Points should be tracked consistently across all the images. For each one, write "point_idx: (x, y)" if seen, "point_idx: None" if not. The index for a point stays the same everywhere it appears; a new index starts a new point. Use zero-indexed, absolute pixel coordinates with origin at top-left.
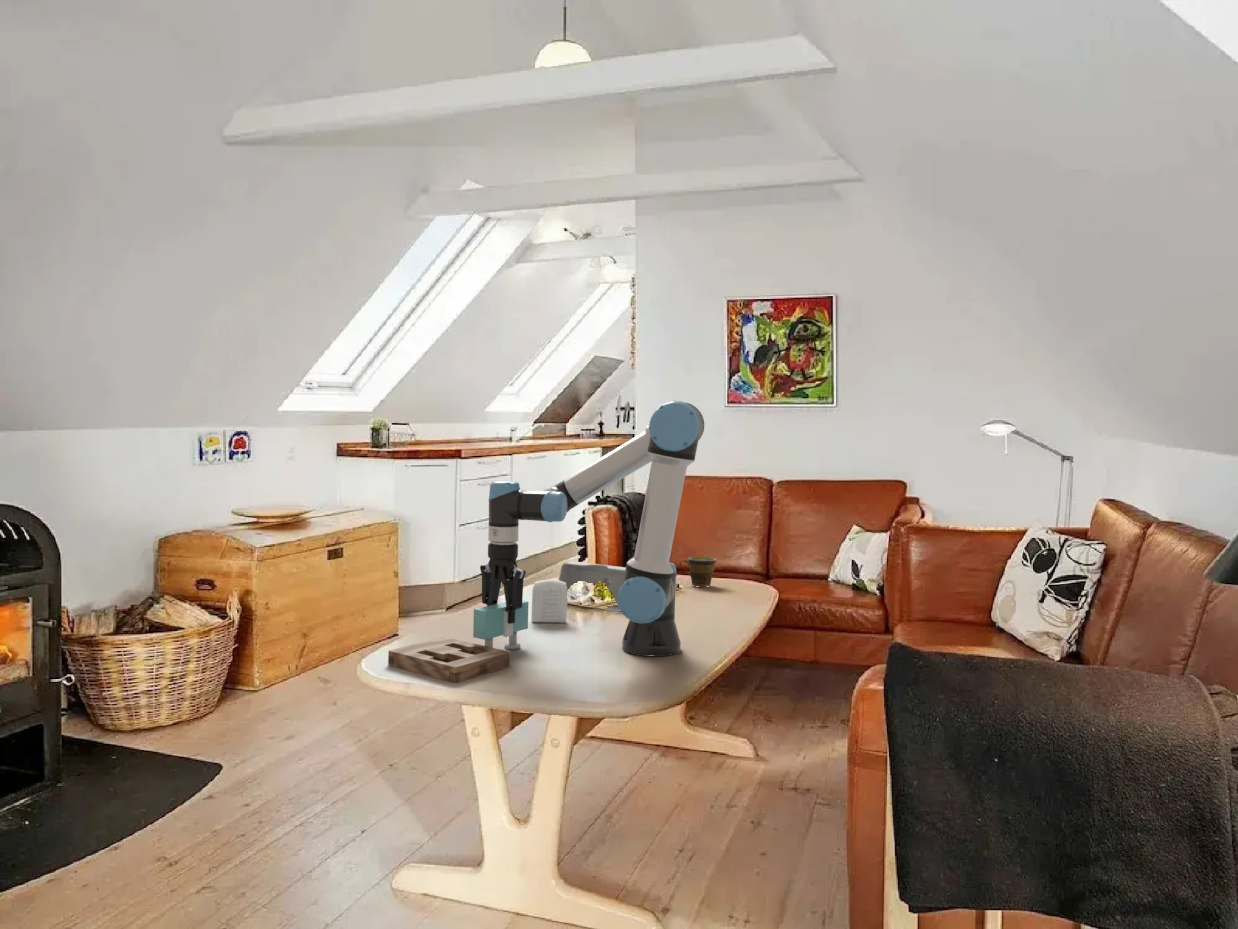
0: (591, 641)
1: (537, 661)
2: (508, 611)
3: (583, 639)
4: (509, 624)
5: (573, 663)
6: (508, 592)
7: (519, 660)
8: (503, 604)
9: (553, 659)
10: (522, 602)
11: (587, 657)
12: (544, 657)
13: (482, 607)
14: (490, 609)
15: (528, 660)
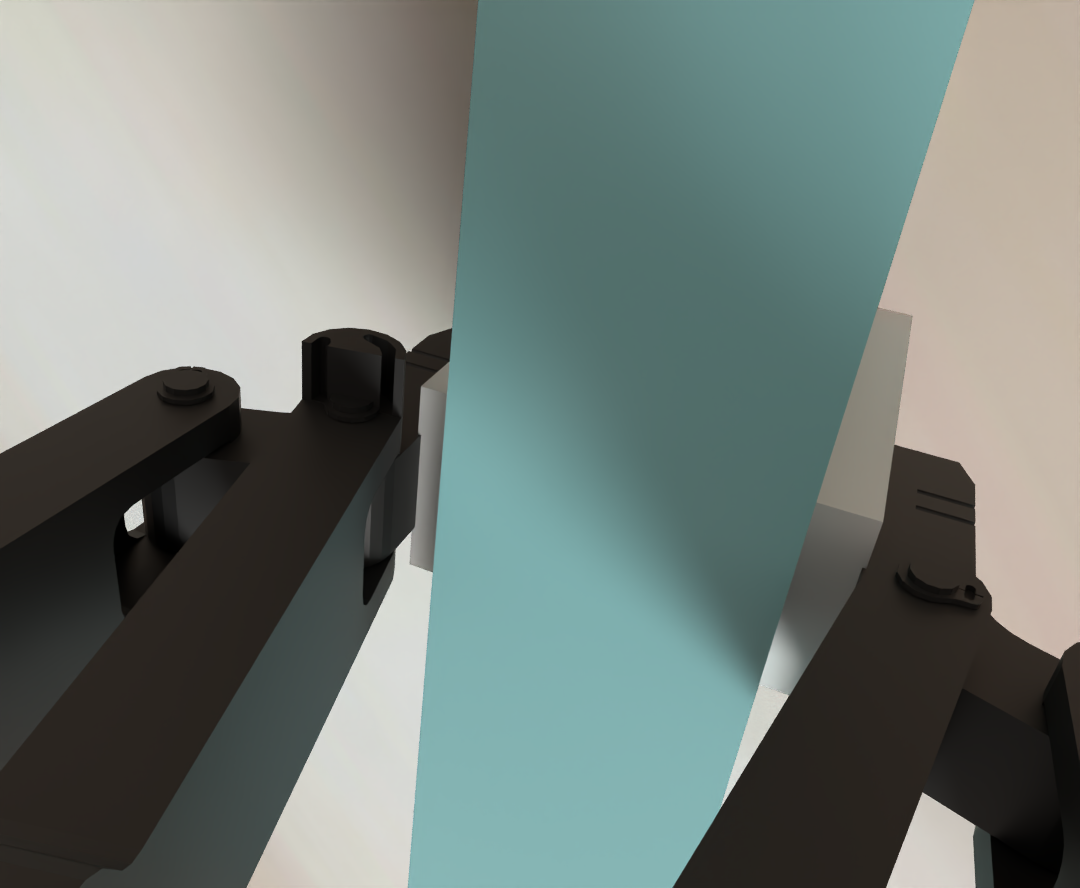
0: (309, 816)
1: (236, 95)
2: (412, 428)
3: (381, 853)
4: None
5: (6, 203)
6: (120, 632)
7: (385, 24)
8: (612, 668)
9: (184, 239)
10: (440, 884)
11: (59, 417)
12: (278, 264)
13: (890, 164)
14: (545, 43)
15: (318, 80)
